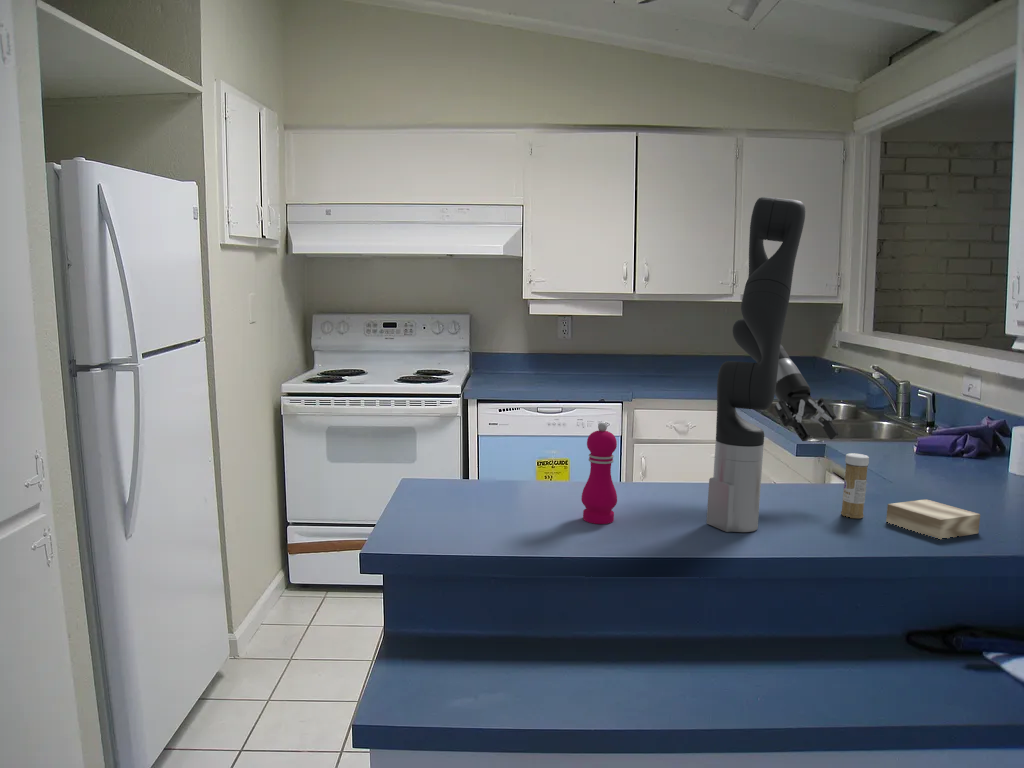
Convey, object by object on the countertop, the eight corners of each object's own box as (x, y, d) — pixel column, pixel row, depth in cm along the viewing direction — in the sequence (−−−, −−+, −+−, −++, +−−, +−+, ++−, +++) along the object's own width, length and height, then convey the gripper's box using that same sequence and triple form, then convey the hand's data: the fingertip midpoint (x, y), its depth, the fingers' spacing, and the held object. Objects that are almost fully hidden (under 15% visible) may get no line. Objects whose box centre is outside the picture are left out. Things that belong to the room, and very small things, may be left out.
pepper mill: (574, 516, 159) (578, 420, 156) (605, 513, 161) (610, 419, 159) (590, 526, 152) (594, 426, 150) (622, 523, 155) (627, 425, 152)
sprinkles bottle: (836, 513, 167) (841, 452, 166) (856, 513, 168) (861, 452, 166) (847, 519, 163) (853, 457, 161) (868, 519, 163) (873, 457, 162)
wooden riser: (938, 539, 150) (940, 519, 150) (886, 522, 161) (887, 504, 161) (978, 533, 156) (980, 514, 155) (924, 517, 166) (926, 499, 166)
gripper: (772, 372, 176) (807, 430, 167) (818, 371, 182) (854, 427, 173) (754, 392, 181) (787, 449, 172) (799, 390, 187) (833, 446, 178)
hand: (821, 438), depth 173 cm, fingers open, 8 cm apart
